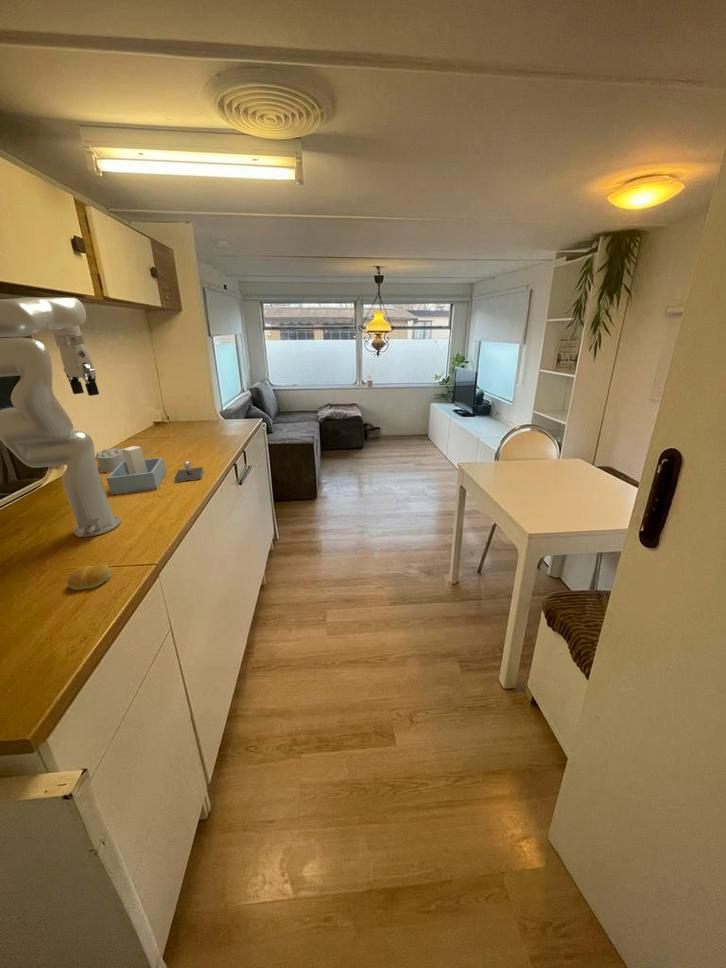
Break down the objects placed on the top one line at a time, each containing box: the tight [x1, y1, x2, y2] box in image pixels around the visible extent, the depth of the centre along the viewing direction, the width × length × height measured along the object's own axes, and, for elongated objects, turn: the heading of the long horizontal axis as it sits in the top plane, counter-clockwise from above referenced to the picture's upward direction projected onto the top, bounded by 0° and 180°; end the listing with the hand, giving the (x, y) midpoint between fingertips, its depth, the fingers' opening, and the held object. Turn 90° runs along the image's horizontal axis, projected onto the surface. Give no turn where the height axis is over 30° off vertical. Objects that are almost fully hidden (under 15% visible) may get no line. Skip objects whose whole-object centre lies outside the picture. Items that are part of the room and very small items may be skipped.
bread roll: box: [65, 563, 112, 591], centre depth 94 cm, size 8×9×4 cm
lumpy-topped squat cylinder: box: [95, 447, 125, 474], centre depth 171 cm, size 10×13×9 cm
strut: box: [121, 445, 148, 475], centre depth 152 cm, size 5×5×14 cm
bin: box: [106, 457, 167, 496], centre depth 154 cm, size 20×16×7 cm
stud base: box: [174, 460, 205, 483], centre depth 158 cm, size 10×10×7 cm
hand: (86, 394), depth 130 cm, fingers open, 9 cm apart
